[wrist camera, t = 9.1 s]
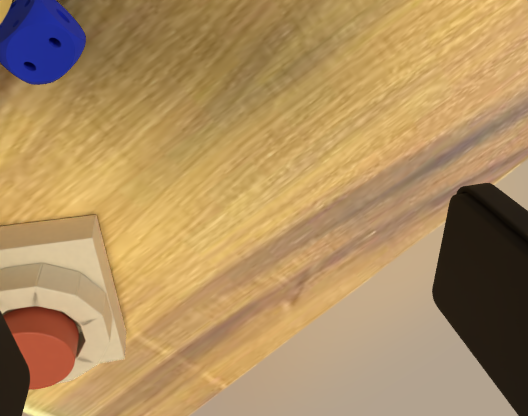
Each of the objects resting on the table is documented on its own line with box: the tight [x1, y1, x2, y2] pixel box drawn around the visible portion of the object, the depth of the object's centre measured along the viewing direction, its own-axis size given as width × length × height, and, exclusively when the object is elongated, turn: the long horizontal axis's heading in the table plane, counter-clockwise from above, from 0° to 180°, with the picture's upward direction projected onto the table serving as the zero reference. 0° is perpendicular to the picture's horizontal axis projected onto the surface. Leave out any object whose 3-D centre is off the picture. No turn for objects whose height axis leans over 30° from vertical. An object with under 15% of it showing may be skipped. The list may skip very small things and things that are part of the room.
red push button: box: [3, 306, 79, 389], centre depth 22 cm, size 4×4×2 cm
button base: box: [0, 215, 126, 384], centre depth 24 cm, size 9×7×4 cm
